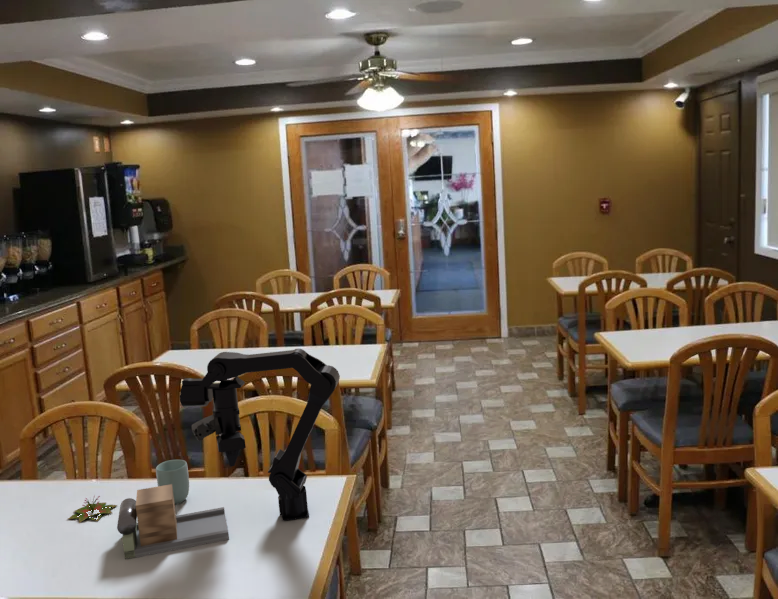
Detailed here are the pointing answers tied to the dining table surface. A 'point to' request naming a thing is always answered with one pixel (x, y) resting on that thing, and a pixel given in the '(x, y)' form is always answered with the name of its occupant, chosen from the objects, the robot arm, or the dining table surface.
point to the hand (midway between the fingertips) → (232, 465)
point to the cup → (174, 478)
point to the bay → (189, 530)
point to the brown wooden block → (156, 515)
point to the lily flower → (92, 507)
